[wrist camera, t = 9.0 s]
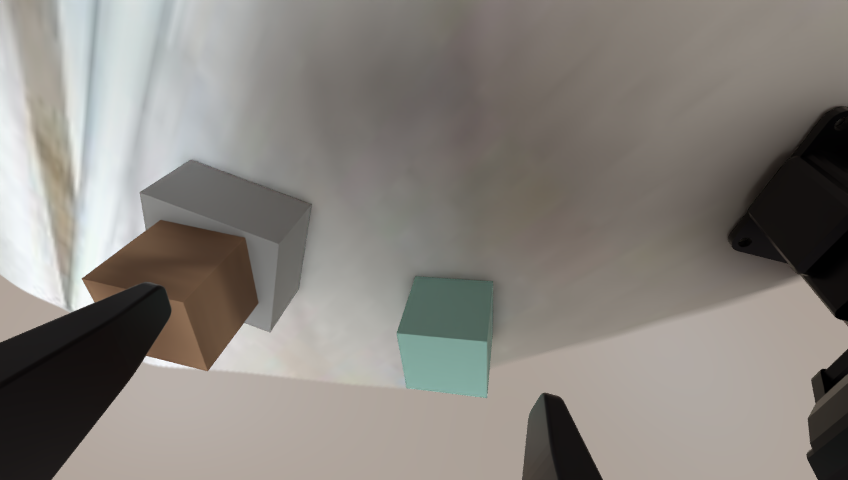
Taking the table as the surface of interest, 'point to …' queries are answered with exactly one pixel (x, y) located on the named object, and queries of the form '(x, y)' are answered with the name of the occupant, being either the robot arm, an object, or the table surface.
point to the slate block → (239, 227)
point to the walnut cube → (186, 287)
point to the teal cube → (447, 336)
